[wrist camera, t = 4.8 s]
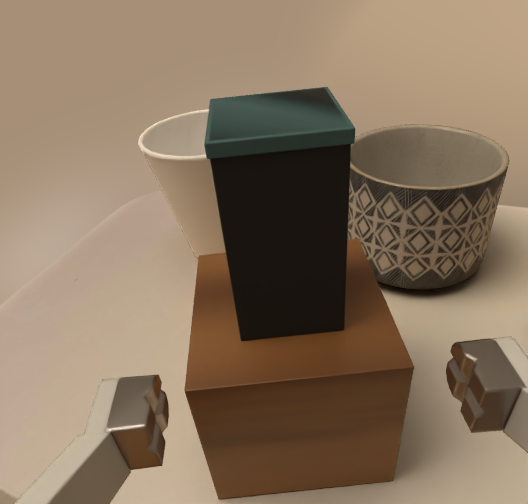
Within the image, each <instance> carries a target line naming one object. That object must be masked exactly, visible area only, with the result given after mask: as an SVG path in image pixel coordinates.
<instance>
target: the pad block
mask: <svg viewBox="0 0 528 504" xmlns="http://www.w3.org/2000/svg"><path fill="white" fill-rule="evenodd" d="M354 142H355V127H354V126H353V124H352V123H351V121H350V120H349V119H348V117H347V115H346V114H345V112H344V111H343V109H342V108H341V106H340V105H339V103H338V102H337V100H336V99H335V98H334V96H333V94H332V93H331V92H330V90H329V89H328V87H321V88H312V89H302V90H293V91H284V92H274V93H264V94H255V95H245V96H236V97H226V98H217V99H211V100H210V105H209V113H208V120H207V127H206V135H205V142H204V147H205V152H206V158H207V159H210V163H211V168H212V174H213V180H214V186H215V192H216V198H217V204H218V210H219V215H220V221H221V227H222V233H223V239H224V245H225V251H226V257H227V262H228V268H229V274H230V280H231V286H232V292H233V298H234V304H235V309H236V315H237V321H238V327H239V333H240V339H241V341H247V340H256V339H266V338H275V337H285V336H294V335H304V334H313V333H323V332H332V331H342V330H344V324H345V297H346V269H347V241H348V213H349V186H350V158H351V144H354Z"/></svg>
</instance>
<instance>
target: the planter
mask: <svg viewBox="0 0 528 504" xmlns="http://www.w3.org/2000/svg"><path fill="white" fill-rule="evenodd" d="M508 165H509V156H508V154H507V152H506V150H504V148H503V147H502V146H500V145H499V144H498V143H497V142H495V141H493V140H492V139H490V138H488V137H486V136H483V135H481V134H478V133H475V132H472V131H468V130H464V129H460V128H454V127H448V126H440V125H424V124H422V125H421V124H411V125H399V126H390V127H384V128H379V129H375V130H372V131H369V132H366V133H363V134H361V135H359V136H357V137H356V138H355V142H354V144H351V158H350V186H349V213H348V240H350V239H359V241H360V243H361V245H362V248H363V250H364V252H365V255H366V257H367V259H368V262H369V264H370V266H371V269H372V271H373V273H374V276H375V278H376V280H377V281H379V282H382V283H385V284H388V285H392V286H396V287H401V288H409V289H435V288H442V287H447V286H450V285H454V284H456V283H459V282H461V281H463V280H465V279H467V278H468V277H470V276H471V275H472V274H474V273H475V272H476V270H477V269H478V268H479V267H480V265H481V263H482V260H483V257H484V253H485V250H486V246H487V242H488V239H489V235H490V231H491V228H492V224H493V220H494V216H495V213H496V209H497V205H498V202H499V198H500V194H501V191H502V187H503V183H504V179H505V176H506V172H507V168H508Z"/></svg>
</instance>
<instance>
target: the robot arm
mask: <svg viewBox="0 0 528 504" xmlns="http://www.w3.org/2000/svg"><path fill="white" fill-rule="evenodd" d="M451 354H452V356H453V358H452V359H451V360H450V361H449V362H448V363H447V368H446V375H447V382H448V385H449V388H450V390H451V392H452V394H453V396H454V397H455V398H457V399H458V400H459V401H461V402H462V407H461V410H460V411H461V413H462V415H463V417H464V419H465V421H466V423H467V425H468V427H469V429H470V431H471V433H476V432H488V431H501V430H504V431H503V432H504V433H505V434H506V435H507V436H509V437H510V438H511V439H512V440H513V441H514V442H516V443H517V444H518V445H519V446H520V447H521V448H523V449H524V450H525V451H526V452H527V453H528V357H527V355H526V354H525V353H524V351H523V350H522V349H521V347H520V346H519V344H518V343H517V342H516V340H515V339H513V338H512V337H502V338H493V339H481V340H472V341H464V342H456V343H454V344H453V345H452V348H451ZM161 383H162V382H161V380H160V377H159V375H148V376H135V377H123V378H112V379H102V381H101V382H100V384H99V385H98V389H97V392H96V395H95V399H94V402H93V405H92V409H91V412H90V415H89V419H88V422H87V425H86V428H85V432H84V435H79V436H77V437H76V438H75V439H74V440H73V441H72V443H71V444H70V445H69V446H68V447H67V448H66V449H65V450H64V451H63V452H62V453H61V454H60V455H59V456H58V457H57V458H56V459H55V461H54V462H53V463H52V464H51V465H50V466H49V467H48V468H47V469H46V470H45V471H44V472H43V473H42V474H41V475H40V476H39V477H38V479H37V480H36V481H35V482H34V483H33V484H32V485H31V486H30V487H29V488H28V489H27V490H26V491H25V492H24V493H23V494H22V495H21V496H20V498H19V499H18V500H17V501H16V502H15V503H14V504H110V502H111V501H112V499H113V498H114V496H115V495H116V493H117V492H118V490H119V489H120V487H121V486H122V484H123V483H124V481H125V480H126V479H127V477H128V476H129V474H130V473H131V471H130V470H134V469H141V468H149V467H156V466H162V463H163V456H164V449H165V440H164V437H163V434H162V433H163V431H164V430H165V429H166V428H167V426H168V417H169V412H168V400H167V396H166V393H165V392H164V391H162V390H161Z"/></svg>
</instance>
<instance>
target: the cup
mask: <svg viewBox="0 0 528 504" xmlns="http://www.w3.org/2000/svg"><path fill="white" fill-rule="evenodd" d="M208 113H209V109H207V110H199V111H193V112H188V113H184V114H180V115H176V116H173V117H170V118H167V119H165V120H162V121H160V122H158V123H155V124H154V125H152V126H151V127H149V128H148V129H146V130H145V131H144V132H143V133H142V134H141V135H140V137H139V141H138V146H139V148H140V149H141V151H142V152H143V153H144V155H145V157H146V159H147V161H148V163H149V165H150V167H151V169H152V171H153V173H154V175H155V177H156V179H157V181H158V183H159V185H160V187H161V189H162V191H163V193H164V195H165V197H166V199H167V201H168V203H169V205H170V207H171V209H172V211H173V213H174V215H175V217H176V219H177V221H178V223H179V225H180V227H181V229H182V231H183V233H184V235H185V237H186V239H187V241H188V243H189V245H190V247H191V249H192V251H193V253H194V255H195V256H196V257H197V258H198V259H199V255H208V254H217V253H226V251H225V245H224V239H223V233H222V227H221V221H220V215H219V210H218V204H217V198H216V192H215V186H214V180H213V174H212V168H211V163H210V159H207V158H206V152H205V147H204V142H205V135H206V127H207V120H208Z"/></svg>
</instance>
